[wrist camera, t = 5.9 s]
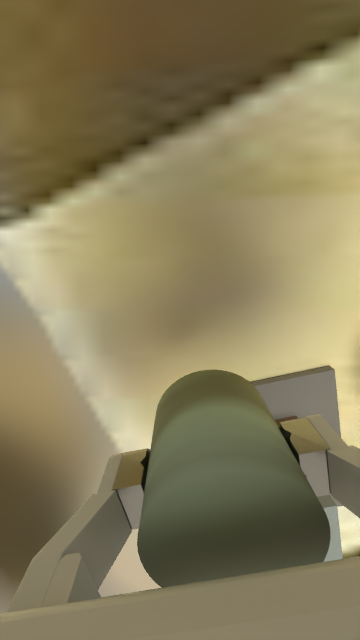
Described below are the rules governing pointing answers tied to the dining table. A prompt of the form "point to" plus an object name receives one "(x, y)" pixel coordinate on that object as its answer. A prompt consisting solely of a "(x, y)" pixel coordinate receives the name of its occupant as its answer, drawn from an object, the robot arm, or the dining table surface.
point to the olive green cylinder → (224, 488)
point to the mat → (302, 396)
